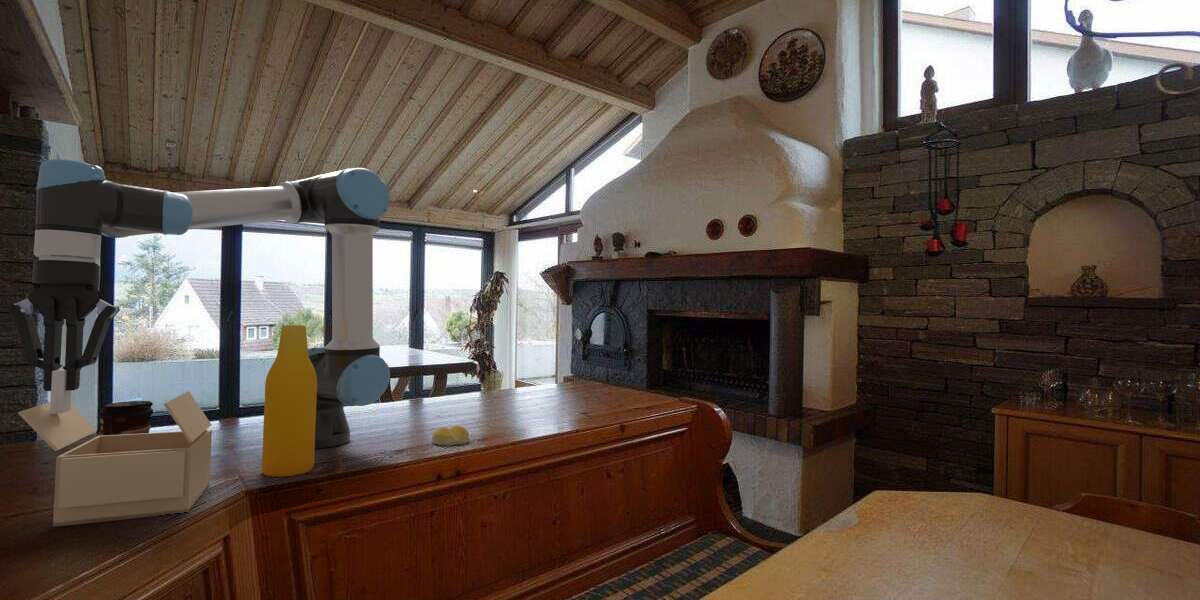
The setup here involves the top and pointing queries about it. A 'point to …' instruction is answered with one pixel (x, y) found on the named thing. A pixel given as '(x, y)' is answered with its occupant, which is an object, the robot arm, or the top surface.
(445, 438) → the bread roll
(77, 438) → the flap
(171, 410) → the flap
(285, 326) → the beer bottle
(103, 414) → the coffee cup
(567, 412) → the top surface
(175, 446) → the carton
